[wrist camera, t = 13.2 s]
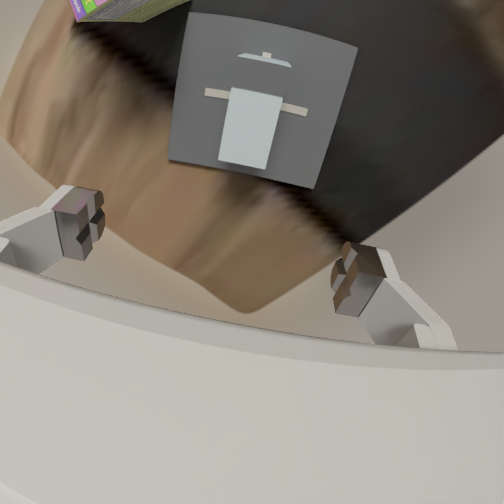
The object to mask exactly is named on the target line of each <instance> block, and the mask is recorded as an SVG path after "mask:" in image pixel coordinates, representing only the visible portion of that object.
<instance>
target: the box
mask: <svg viewBox="0 0 504 504" xmlns="http://www.w3.org/2000/svg"><path fill="white" fill-rule="evenodd" d="M68 1H69V3H70V6H71V9H72V11H73V14H74V16H75V19H76V21H77V22H85V21H121V22H141V23H143V22H145V21H147V20H149V19H151V18H153V17H155V16H157V15H159V14H161V13H163V12H165V11H167V10H169V9H171V8H173V7H176V6H178V5H180V4H182V3H185V2H187V1H190V0H68Z"/></svg>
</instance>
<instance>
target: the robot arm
mask: <svg viewBox="0 0 504 504" xmlns="http://www.w3.org/2000/svg"><path fill="white" fill-rule="evenodd" d="M103 203H104V198H103V193H102V192H101V191H99V190H94V189H88V188H83V187H78V186H77V187H76V186H72V185H62V186H61V187H60V188H59V189H58V190H56V191H55V192H54V193H53V194H52V195H51V196H50V197H49V198H48V199H47V200H46V201H45V202H44V203H43V204H42V205H41V206H40V207H34V208H32V209H29V210H27V211H24V212H22V213H19V214H17V215H14V216H12V217H10V218H7V219H5V220H3V221H0V504H504V352H480V351H458V349H457V346H456V344H455V341H454V338H453V335H452V333H451V330H450V327H449V326H448V325H447V324H446V323H445V322H444V321H443V320H442V319H441V318H440V317H439V316H438V315H437V314H436V313H435V312H434V311H433V310H432V309H431V308H430V307H429V306H428V305H427V304H426V303H425V302H424V301H423V300H422V299H421V298H420V297H419V296H418V295H417V294H416V293H415V292H414V291H413V290H412V289H411V288H410V287H409V286H408V285H407V284H406V283H405V282H401V280H400V278H399V275H398V273H397V270H396V268H395V265H394V263H393V260H392V258H391V255H390V253H389V251H387V250H386V249H381V248H376V247H371V246H366V245H362V244H357V243H352V242H346V243H345V244H344V246H343V248H342V250H341V254H342V258H340V259H339V260H337V261H336V262H335V265H334V267H333V269H332V274H331V288H332V289H333V291H334V292H335V295H334V297H333V301H334V307H335V313H337V314H343V315H348V316H354V317H359V318H358V319H359V321H360V322H361V324H362V325H363V326H364V328H365V329H366V331H367V332H368V333H369V335H370V337H371V338H372V339H373V341H374V342H375V344H369V343H360V342H351V341H342V340H335V339H327V338H320V337H313V336H306V335H299V334H293V333H287V332H281V331H274V330H268V329H262V328H257V327H252V326H246V325H241V324H235V323H230V322H225V321H219V320H215V319H210V318H205V317H200V316H195V315H190V314H185V313H181V312H176V311H172V310H167V309H163V308H159V307H155V306H150V305H145V304H142V303H138V302H134V301H130V300H126V299H122V298H118V297H114V296H111V295H107V294H103V293H99V292H96V291H92V290H88V289H85V288H82V287H78V286H75V285H71V284H67V283H64V282H61V281H58V280H54V279H51V278H48V277H45V276H42V275H39V274H40V273H41V272H43V271H44V270H46V269H47V268H48V267H50V266H51V265H53V264H55V263H56V262H58V261H59V260H61V259H62V258H63V257H67V258H72V259H76V260H80V261H85V259H86V258H87V256H88V254H89V253H90V252H91V250H92V248H93V247H92V243H94V242H96V241H98V240H99V239H100V237H101V236H102V233H103V230H104V227H105V214H104V212H103V211H102V209H101V206H102V205H103Z"/></svg>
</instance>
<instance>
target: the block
mask: <svg viewBox="0 0 504 504" xmlns="http://www.w3.org/2000/svg"><path fill="white" fill-rule="evenodd" d="M290 71H291V65H290V64H289V63H288V62H286V61H282V60H277V59H273V58H268V57H263V56H258V55H253V54H247V53H244V54H240V55H238V56H237V60H236V65H235V70H234V75H233V80H232V85H231V86H232V87H231V92H230V97H229V102H228V107H227V113H226V118H225V123H224V129H223V134H222V140H221V145H220V151H219V157H218V160H221V161H226V162H231V163H236V164H241V165H246V166H251V167H255V168H260V169H265V168H266V164H267V160H268V156H269V152H270V148H271V144H272V140H273V136H274V132H275V128H276V124H277V120H278V116H279V112H280V108H281V104H282V101H283V97H284V94H285V90H286V86H287V83H288V79H289V75H290Z"/></svg>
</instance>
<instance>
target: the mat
mask: <svg viewBox="0 0 504 504" xmlns="http://www.w3.org/2000/svg"><path fill="white" fill-rule="evenodd" d="M357 50H358V48H357V47H354V46H351V45H349V44H346V43H343V42H340V41H336V40H333V39H330V38H327V37H323V36H320V35H316V34H313V33H309V32H305V31H302V30H298V29H294V28H289V27H285V26H281V25H276V24H271V23H266V22H261V21H256V20H250V19H244V18H237V17H230V16H223V15H214V14H204V13H193V12H189V14H188V19H187V24H186V29H185V35H184V40H183V45H182V51H181V57H180V63H179V69H178V76H177V83H176V90H175V97H174V104H173V112H172V121H171V130H170V139H169V149H168V159H169V160H175V161H181V162H187V163H193V164H198V165H204V166H209V167H214V168H220V169H225V170H230V171H235V172H240V173H245V174H249V175H254V176H259V177H263V178H268V179H272V180H277V181H281V182H285V183H290V184H294V185H298V186H302V187H306V188H310V189H314V186H315V183H316V180H317V177H318V174H319V171H320V168H321V165H322V162H323V159H324V156H325V153H326V150H327V147H328V144H329V141H330V138H331V135H332V132H333V129H334V126H335V122H336V119H337V116H338V113H339V110H340V107H341V103H342V100H343V97H344V94H345V90H346V87H347V84H348V81H349V77H350V74H351V71H352V67H353V64H354V60H355V57H356V54H357ZM244 53H247V54H253V55H258V56H263V57H268V58H273V59H277V60H282V61H286V62H288V63H289V64H290V65H291V71H290V75H289V79H288V83H287V86H286V90H285V94H284V97H283V101H282V104H281V108H280V112H279V116H278V120H277V124H276V128H275V132H274V136H273V140H272V144H271V148H270V152H269V156H268V160H267V164H266V168H265V169H260V168H255V167H251V166H246V165H241V164H236V163H231V162H226V161H221V160H218V157H219V151H220V145H221V140H222V134H223V129H224V123H225V118H226V113H227V107H228V102H229V97H230V92H231V87H232V86H231V85H232V80H233V75H234V70H235V65H236V60H237V56H238V55H240V54H244Z"/></svg>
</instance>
